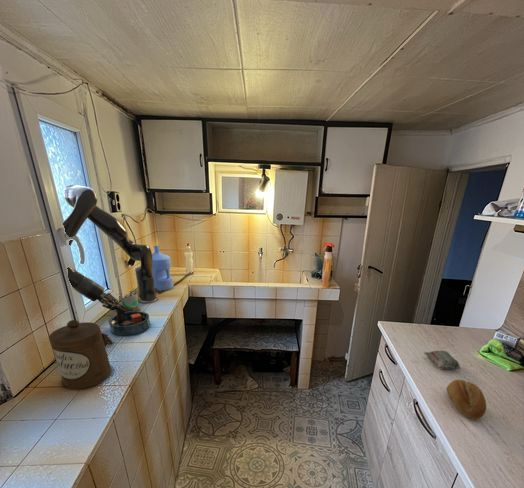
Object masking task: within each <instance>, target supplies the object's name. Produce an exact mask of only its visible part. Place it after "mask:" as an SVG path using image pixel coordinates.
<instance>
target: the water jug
mask: <svg viewBox="0 0 524 488" xmlns="http://www.w3.org/2000/svg"><path fill="white" fill-rule="evenodd" d="M152 260H153V269H152V271H153V278H154V285H155V288H157V290H159V292H161V291H163V290H164V292H165V291H169V290H171V289H173V288H174V287H175V285H173V284H174V279H173V278H174V277H173V276H172V275H171V273H170V269H171V268H172V261H171V260H172V259H171V256H170V255H167V254H166V253H165V254H164V253H162V252H161V251H160V246H159V245H154V246H153V252H152Z"/></svg>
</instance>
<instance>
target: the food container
mask: <svg viewBox="0 0 524 488" xmlns="http://www.w3.org/2000/svg"><path fill="white" fill-rule="evenodd" d="M138 298H140V296H139V293H138V292H137V291H135V290H130V292H129V293H128V294H125V295H124V296H123V297H120V302H121V305H122V306H124V307H125V308H126V312H132V311H139V301H138V300H139V299H138Z"/></svg>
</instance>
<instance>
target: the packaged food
mask: <svg viewBox="0 0 524 488" xmlns="http://www.w3.org/2000/svg"><path fill="white" fill-rule="evenodd" d="M423 354H424V355H425V356H427V359H429V360H430V361H431V362H432V363H433V364H434V365H435V366H436V368H438V369H443V370H461V369H462V368H461V366H460V363H459V361H458V360H456V359H455V358H454V357H453V356H452V355H451V354H450V353H449V352H448V351H446V350H432V351H431V350H430V351H424V352H423Z"/></svg>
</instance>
